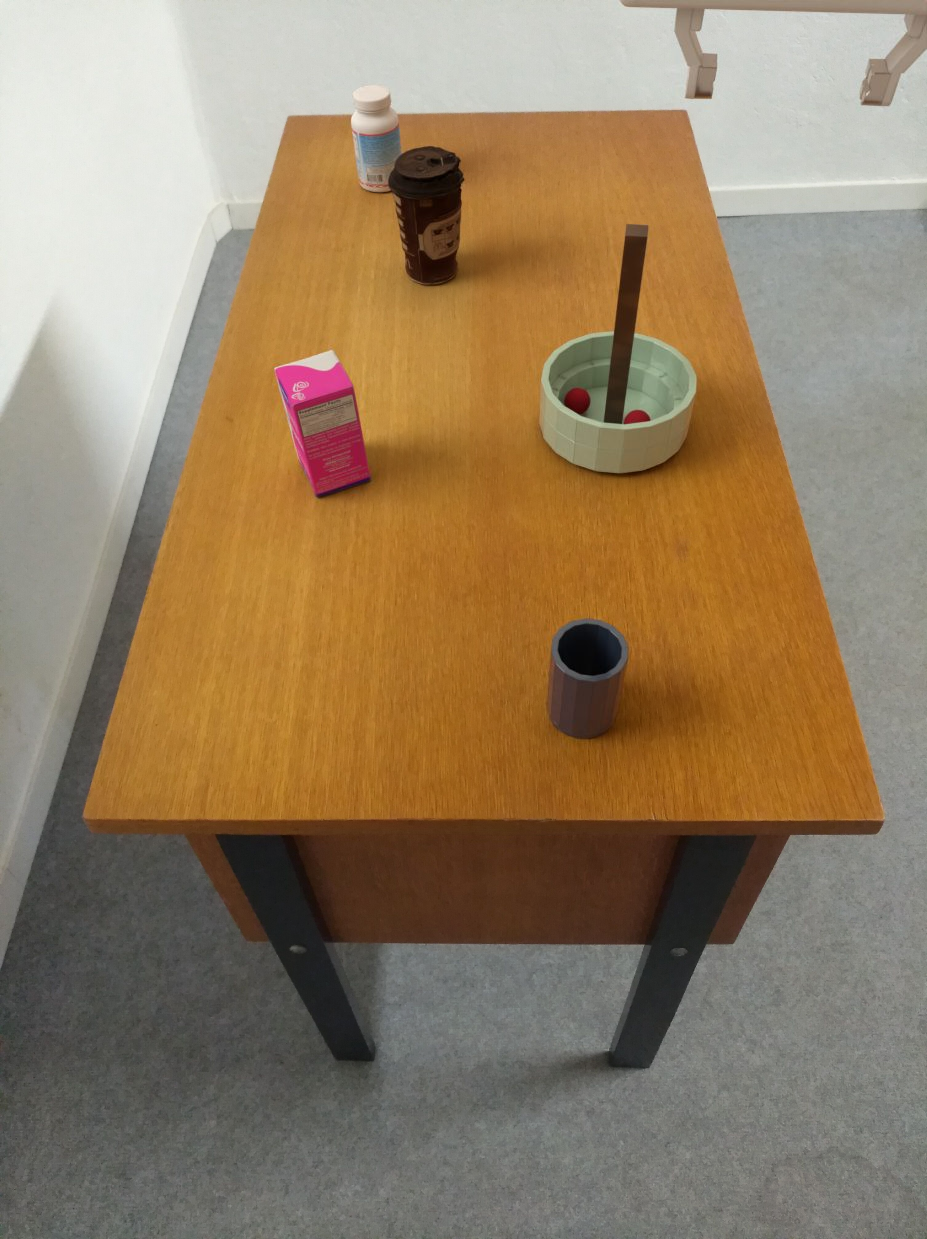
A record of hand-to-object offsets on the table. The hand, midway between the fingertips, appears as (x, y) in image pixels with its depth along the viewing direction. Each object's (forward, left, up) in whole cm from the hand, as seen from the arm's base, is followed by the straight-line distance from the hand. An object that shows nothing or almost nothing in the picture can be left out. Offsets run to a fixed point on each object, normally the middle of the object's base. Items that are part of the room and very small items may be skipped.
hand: (784, 98), depth 49 cm
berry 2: (+5, -14, -35) cm, 38 cm away
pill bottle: (+41, -60, -37) cm, 82 cm away
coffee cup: (+30, -40, -37) cm, 62 cm away
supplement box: (+33, -5, -37) cm, 50 cm away
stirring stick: (+7, -15, -36) cm, 40 cm away
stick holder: (+7, +18, -37) cm, 42 cm away
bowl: (+7, -15, -37) cm, 41 cm away
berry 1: (+11, -16, -35) cm, 40 cm away
